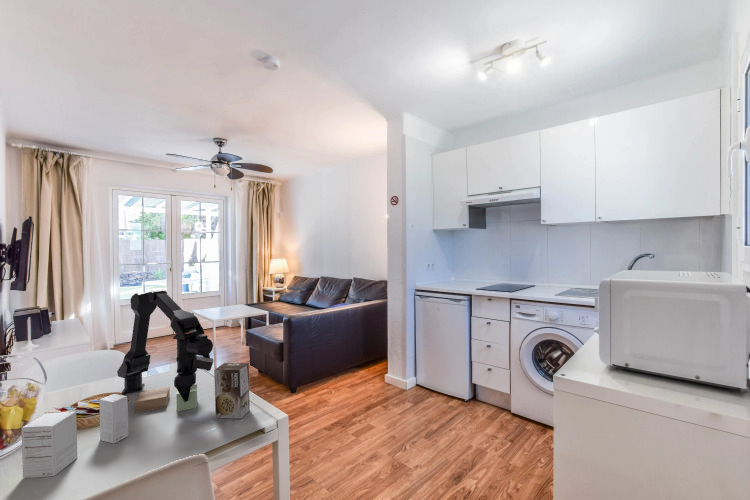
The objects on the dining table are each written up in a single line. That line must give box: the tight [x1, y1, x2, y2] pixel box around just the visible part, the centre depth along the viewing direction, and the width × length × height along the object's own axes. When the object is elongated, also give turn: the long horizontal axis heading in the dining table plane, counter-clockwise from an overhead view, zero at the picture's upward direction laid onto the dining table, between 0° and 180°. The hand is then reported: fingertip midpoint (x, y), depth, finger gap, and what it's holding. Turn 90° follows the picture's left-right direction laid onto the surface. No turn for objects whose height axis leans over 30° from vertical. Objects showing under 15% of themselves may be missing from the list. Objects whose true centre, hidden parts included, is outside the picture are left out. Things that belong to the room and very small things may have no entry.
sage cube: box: [176, 383, 198, 412], centre depth 117 cm, size 6×6×6 cm
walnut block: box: [134, 386, 171, 414], centre depth 118 cm, size 9×9×4 cm
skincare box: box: [99, 393, 129, 444], centre depth 97 cm, size 6×4×12 cm
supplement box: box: [21, 411, 78, 479], centre depth 84 cm, size 7×7×13 cm
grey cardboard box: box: [213, 362, 251, 420], centre depth 110 cm, size 9×6×16 cm
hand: (187, 396), depth 117 cm, fingers open, 9 cm apart
